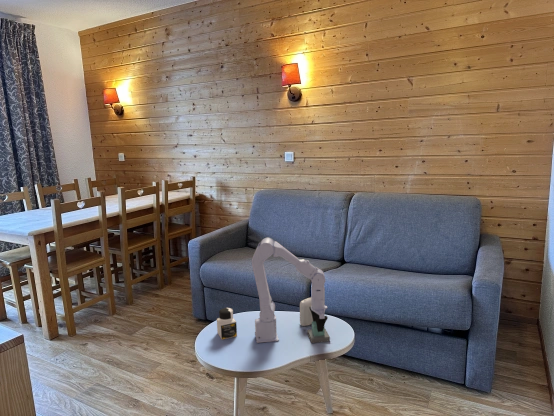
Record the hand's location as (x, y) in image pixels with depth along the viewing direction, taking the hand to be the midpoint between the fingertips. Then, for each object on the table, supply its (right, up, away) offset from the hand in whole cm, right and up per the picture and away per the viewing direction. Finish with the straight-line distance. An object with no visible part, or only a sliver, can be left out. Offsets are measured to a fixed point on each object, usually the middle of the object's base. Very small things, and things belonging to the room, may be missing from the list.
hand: (318, 327), depth 165 cm
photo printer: (-2, -3, +14) cm, 15 cm away
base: (0, -5, +1) cm, 5 cm away
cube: (0, -3, +1) cm, 3 cm away
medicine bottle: (-40, -5, +6) cm, 41 cm away
